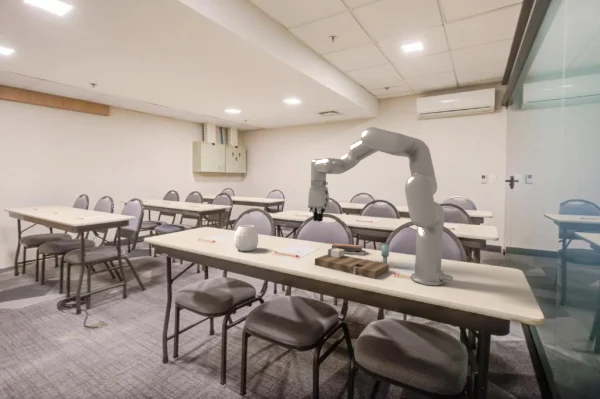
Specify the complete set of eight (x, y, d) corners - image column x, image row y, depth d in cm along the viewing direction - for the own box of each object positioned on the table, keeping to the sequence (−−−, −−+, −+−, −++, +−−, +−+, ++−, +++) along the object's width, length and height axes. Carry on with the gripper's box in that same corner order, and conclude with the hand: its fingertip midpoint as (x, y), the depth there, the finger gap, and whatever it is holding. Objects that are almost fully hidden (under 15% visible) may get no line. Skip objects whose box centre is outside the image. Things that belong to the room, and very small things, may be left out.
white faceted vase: (230, 249, 171) (230, 225, 170) (251, 246, 179) (251, 223, 178) (241, 253, 161) (241, 228, 160) (262, 250, 169) (262, 226, 168)
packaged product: (330, 245, 164) (333, 241, 173) (330, 253, 164) (333, 249, 173) (364, 247, 158) (365, 243, 168) (364, 256, 159) (365, 252, 168)
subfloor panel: (388, 270, 133) (389, 263, 133) (374, 279, 122) (374, 271, 122) (331, 258, 152) (331, 252, 152) (314, 265, 141) (314, 258, 141)
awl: (389, 266, 140) (390, 245, 139) (386, 268, 137) (387, 246, 136) (382, 265, 142) (383, 244, 141) (380, 266, 139) (380, 245, 138)
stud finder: (344, 255, 146) (344, 249, 146) (338, 257, 142) (338, 251, 142) (333, 253, 150) (333, 247, 149) (328, 255, 146) (328, 249, 146)
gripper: (336, 184, 148) (335, 221, 150) (310, 183, 158) (310, 218, 160) (327, 184, 142) (326, 223, 144) (301, 184, 153) (301, 220, 154)
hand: (318, 220), depth 152 cm, fingers closed
